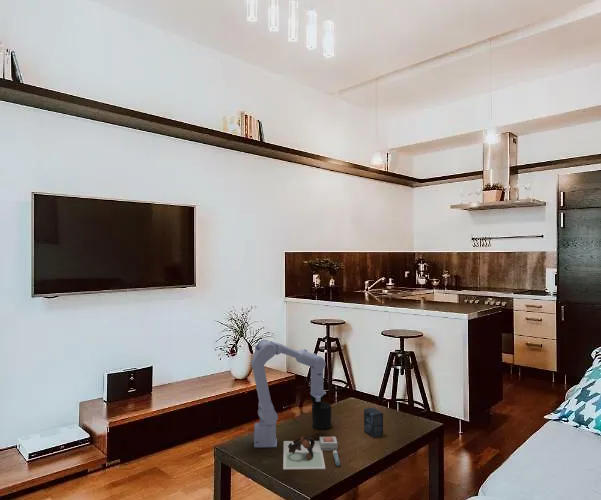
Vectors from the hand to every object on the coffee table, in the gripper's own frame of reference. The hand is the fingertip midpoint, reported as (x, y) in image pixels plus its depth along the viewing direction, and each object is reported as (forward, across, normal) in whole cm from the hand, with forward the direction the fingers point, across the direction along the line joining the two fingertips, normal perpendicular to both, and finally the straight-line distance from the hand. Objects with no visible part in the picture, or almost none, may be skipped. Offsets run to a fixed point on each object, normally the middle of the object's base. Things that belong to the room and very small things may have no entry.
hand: (317, 412), depth 201 cm
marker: (+10, -25, -6) cm, 28 cm away
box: (+11, +2, -26) cm, 28 cm away
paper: (+10, -19, +7) cm, 23 cm away
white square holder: (+10, -12, -4) cm, 16 cm away
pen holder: (+11, +12, -3) cm, 16 cm away
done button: (+10, -12, -4) cm, 16 cm away
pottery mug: (+10, -21, +7) cm, 24 cm away
